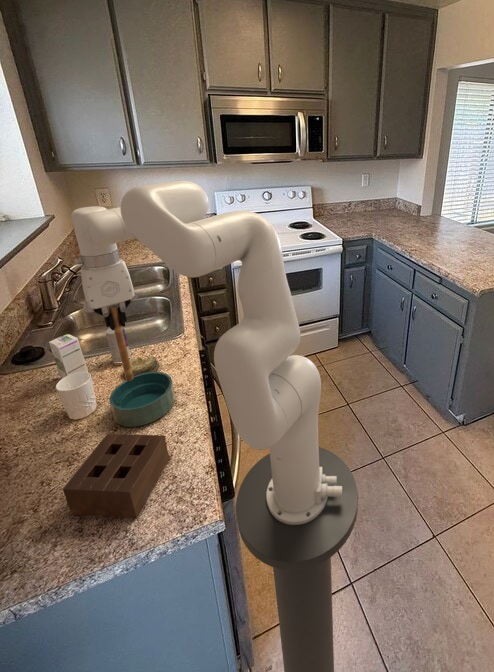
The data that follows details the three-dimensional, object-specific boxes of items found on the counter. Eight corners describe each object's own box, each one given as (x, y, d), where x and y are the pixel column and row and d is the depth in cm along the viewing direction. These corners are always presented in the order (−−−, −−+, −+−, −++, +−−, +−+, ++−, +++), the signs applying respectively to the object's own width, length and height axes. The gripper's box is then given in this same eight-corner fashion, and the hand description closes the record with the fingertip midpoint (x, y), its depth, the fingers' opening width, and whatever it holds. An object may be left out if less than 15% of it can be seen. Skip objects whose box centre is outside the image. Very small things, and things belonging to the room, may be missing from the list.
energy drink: (134, 357, 122) (127, 326, 118) (122, 366, 117) (114, 335, 113) (122, 355, 124) (115, 324, 120) (109, 364, 119) (101, 332, 115)
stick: (135, 377, 98) (118, 305, 90) (131, 381, 96) (114, 308, 89) (128, 377, 98) (111, 305, 90) (124, 381, 96) (107, 308, 89)
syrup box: (90, 376, 113) (79, 336, 108) (70, 387, 108) (57, 346, 103) (80, 371, 115) (69, 332, 111) (60, 382, 111) (47, 341, 106)
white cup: (67, 426, 93) (57, 395, 90) (64, 409, 99) (54, 379, 96) (101, 411, 98) (93, 381, 95) (97, 396, 104) (88, 367, 101)
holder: (169, 458, 83) (164, 435, 81) (136, 518, 70) (129, 492, 68) (113, 456, 84) (107, 433, 82) (71, 514, 71) (62, 489, 69)
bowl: (184, 389, 106) (181, 372, 104) (158, 429, 92) (154, 410, 90) (135, 388, 107) (131, 371, 105) (101, 427, 93) (96, 409, 91)
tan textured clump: (159, 377, 113) (155, 363, 110) (123, 385, 109) (119, 372, 107) (160, 357, 121) (156, 344, 119) (127, 365, 118) (123, 352, 116)
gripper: (63, 271, 78) (84, 344, 84) (141, 255, 88) (154, 321, 94) (59, 262, 83) (78, 332, 89) (132, 248, 93) (145, 311, 99)
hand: (117, 326), depth 91 cm, fingers closed on stick, 1 cm apart
